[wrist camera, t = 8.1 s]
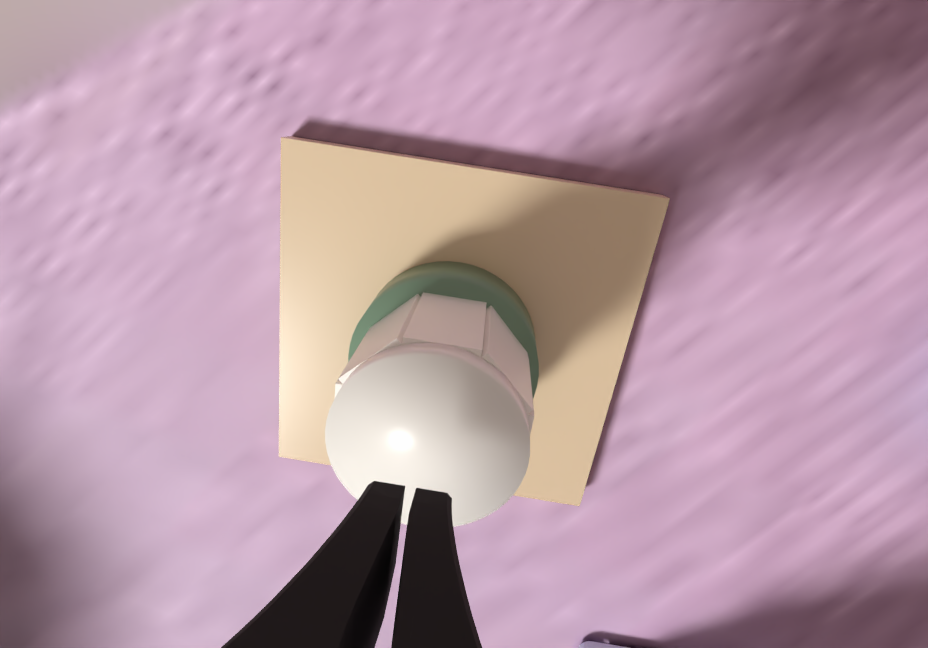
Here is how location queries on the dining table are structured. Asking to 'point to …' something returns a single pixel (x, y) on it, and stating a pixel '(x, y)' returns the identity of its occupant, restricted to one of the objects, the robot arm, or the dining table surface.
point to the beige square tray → (460, 283)
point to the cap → (435, 407)
